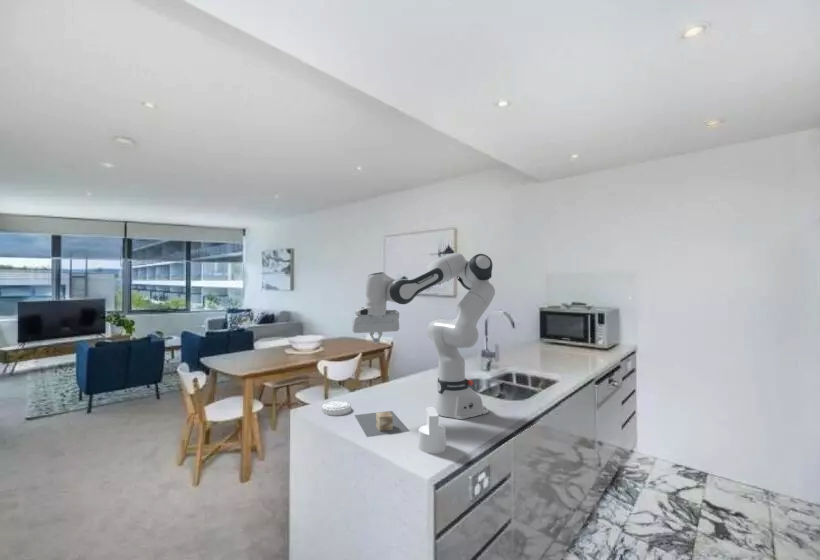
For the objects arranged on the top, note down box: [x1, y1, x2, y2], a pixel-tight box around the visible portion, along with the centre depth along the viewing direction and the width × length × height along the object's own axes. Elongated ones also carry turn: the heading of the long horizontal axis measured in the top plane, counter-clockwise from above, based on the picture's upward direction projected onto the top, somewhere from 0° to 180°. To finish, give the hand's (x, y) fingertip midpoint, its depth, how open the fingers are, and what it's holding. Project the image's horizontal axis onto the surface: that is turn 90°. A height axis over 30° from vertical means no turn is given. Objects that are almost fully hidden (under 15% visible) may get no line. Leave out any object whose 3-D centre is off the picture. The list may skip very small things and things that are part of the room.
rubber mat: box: [354, 410, 410, 438], centre depth 148 cm, size 16×23×1 cm
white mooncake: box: [321, 399, 352, 416], centre depth 162 cm, size 12×12×4 cm
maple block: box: [375, 411, 393, 431], centre depth 143 cm, size 5×5×5 cm
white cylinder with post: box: [418, 406, 447, 455], centre depth 128 cm, size 9×9×12 cm
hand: (375, 342), depth 163 cm, fingers closed
